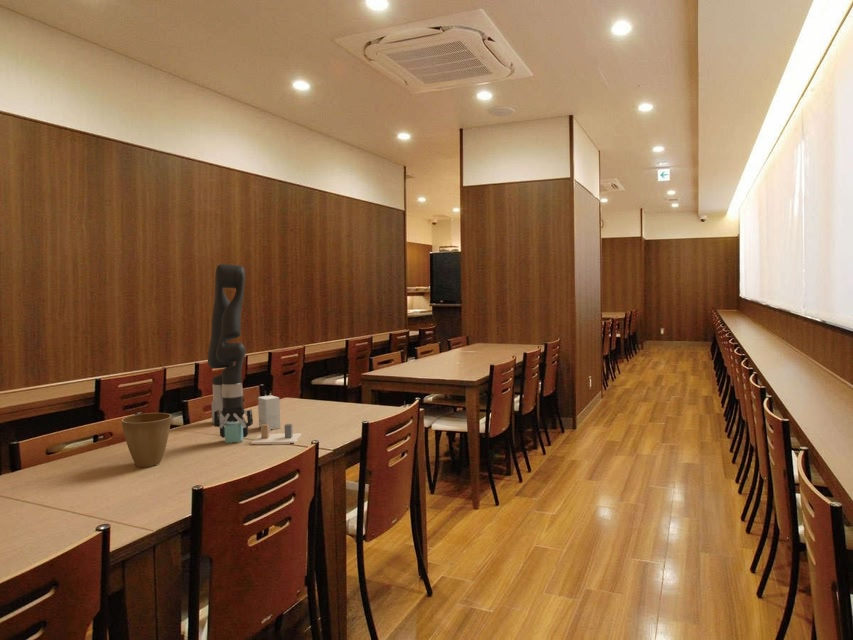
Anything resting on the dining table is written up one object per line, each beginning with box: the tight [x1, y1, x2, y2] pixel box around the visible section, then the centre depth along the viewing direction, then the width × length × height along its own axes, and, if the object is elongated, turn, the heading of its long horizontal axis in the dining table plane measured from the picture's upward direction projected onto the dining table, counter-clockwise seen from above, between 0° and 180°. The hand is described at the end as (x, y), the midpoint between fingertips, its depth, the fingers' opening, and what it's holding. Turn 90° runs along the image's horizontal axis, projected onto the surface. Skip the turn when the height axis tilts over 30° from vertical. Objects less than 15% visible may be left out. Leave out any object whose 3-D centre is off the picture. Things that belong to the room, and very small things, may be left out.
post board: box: [251, 423, 302, 445], centre depth 217 cm, size 16×12×6 cm
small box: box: [257, 394, 281, 431], centre depth 237 cm, size 8×6×13 cm
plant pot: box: [121, 412, 172, 468], centre depth 189 cm, size 15×15×16 cm
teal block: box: [224, 421, 244, 444], centre depth 217 cm, size 5×5×7 cm
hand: (234, 437), depth 217 cm, fingers open, 8 cm apart
